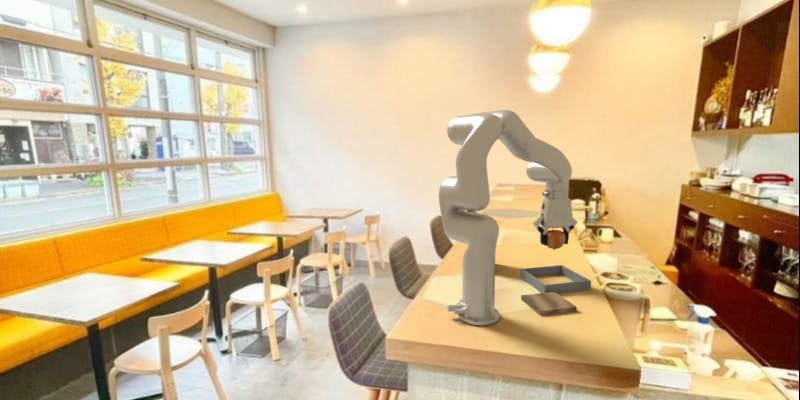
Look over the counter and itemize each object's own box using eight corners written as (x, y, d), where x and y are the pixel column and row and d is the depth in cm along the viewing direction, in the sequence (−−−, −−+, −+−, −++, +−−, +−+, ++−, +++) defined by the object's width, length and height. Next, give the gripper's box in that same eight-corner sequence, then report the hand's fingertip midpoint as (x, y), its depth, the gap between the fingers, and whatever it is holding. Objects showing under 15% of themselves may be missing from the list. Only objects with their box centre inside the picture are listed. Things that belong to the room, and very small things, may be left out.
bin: (544, 295, 129) (545, 285, 128) (520, 277, 146) (520, 268, 145) (590, 290, 132) (591, 280, 131) (561, 273, 149) (561, 264, 148)
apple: (554, 252, 131) (555, 230, 130) (538, 247, 138) (539, 226, 137) (569, 250, 134) (570, 228, 133) (553, 245, 141) (554, 224, 140)
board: (540, 315, 114) (540, 311, 114) (521, 299, 126) (521, 295, 126) (576, 311, 116) (576, 306, 116) (554, 296, 128) (554, 291, 128)
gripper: (539, 197, 128) (537, 248, 131) (585, 195, 131) (582, 245, 134) (528, 194, 136) (526, 242, 138) (572, 193, 139) (569, 240, 141)
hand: (554, 243), depth 136 cm, fingers closed on apple, 7 cm apart
